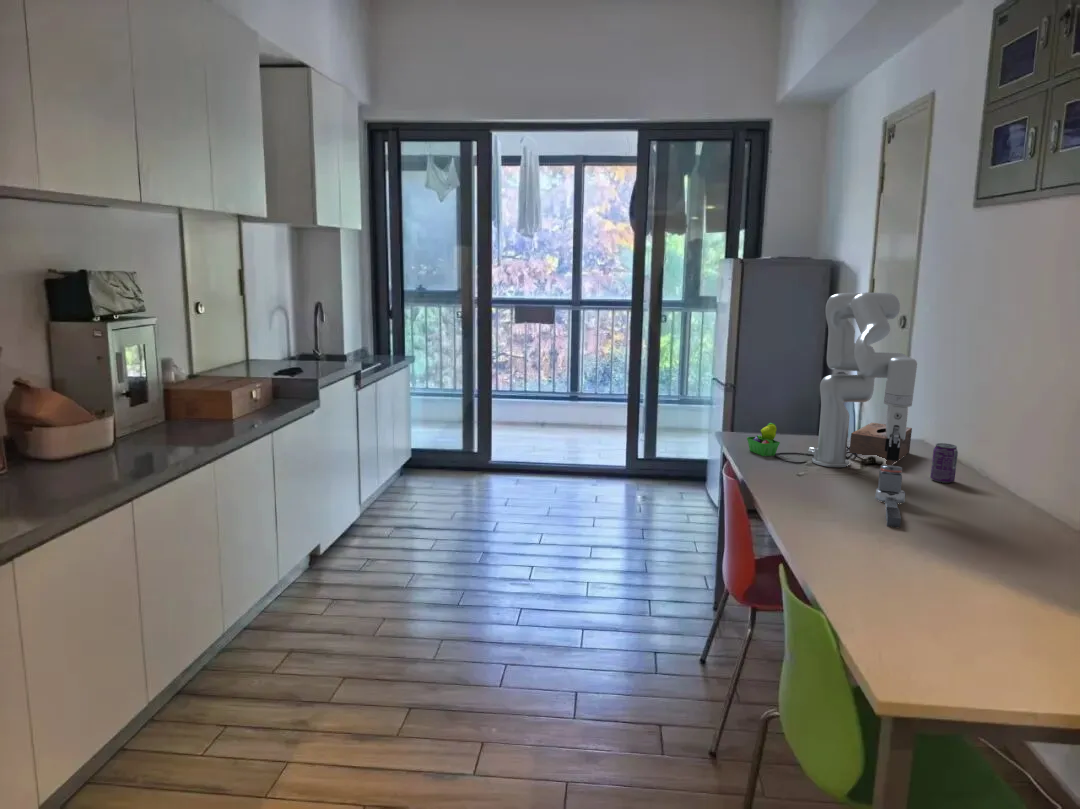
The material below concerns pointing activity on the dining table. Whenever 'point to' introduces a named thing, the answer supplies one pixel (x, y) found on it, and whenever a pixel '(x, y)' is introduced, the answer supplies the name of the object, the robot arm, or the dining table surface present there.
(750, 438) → the fruit basket
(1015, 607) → the dining table surface
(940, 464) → the beverage can
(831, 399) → the robot arm
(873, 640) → the dining table surface
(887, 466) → the grey domed block
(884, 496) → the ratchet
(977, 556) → the dining table surface
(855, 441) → the tissue box cover
